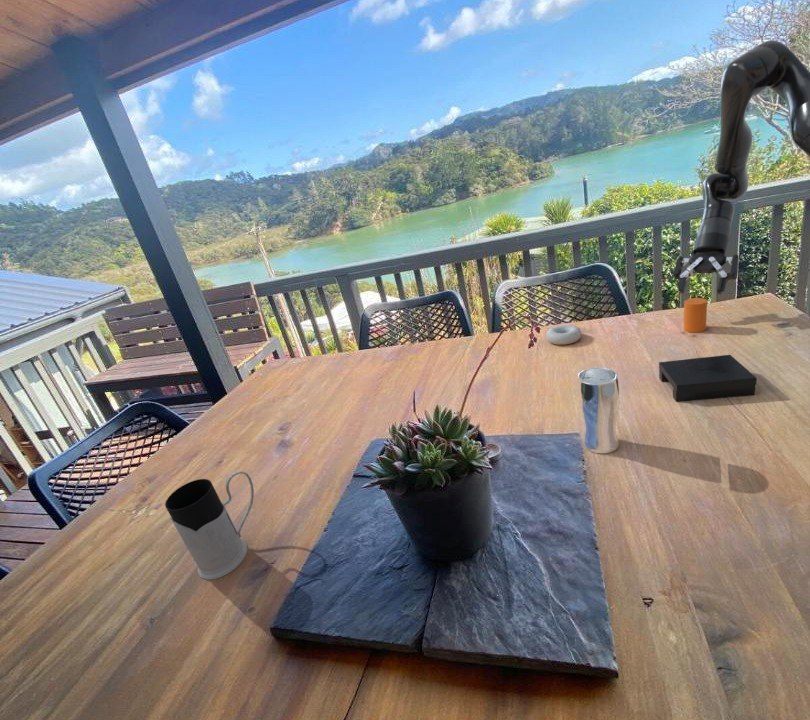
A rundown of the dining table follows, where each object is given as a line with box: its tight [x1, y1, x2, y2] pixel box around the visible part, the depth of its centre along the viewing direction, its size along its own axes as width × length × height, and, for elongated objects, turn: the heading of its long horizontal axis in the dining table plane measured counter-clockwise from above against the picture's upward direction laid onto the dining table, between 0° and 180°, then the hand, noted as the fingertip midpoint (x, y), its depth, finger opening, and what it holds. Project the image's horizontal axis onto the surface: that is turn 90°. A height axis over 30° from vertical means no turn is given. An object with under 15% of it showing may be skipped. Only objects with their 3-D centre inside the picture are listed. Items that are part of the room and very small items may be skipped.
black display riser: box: [658, 354, 758, 403], centre depth 92 cm, size 14×11×4 cm
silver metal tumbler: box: [577, 366, 621, 455], centre depth 81 cm, size 7×7×15 cm
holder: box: [164, 470, 255, 581], centre depth 77 cm, size 9×14×15 cm, turn 134°
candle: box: [683, 297, 708, 334], centre depth 116 cm, size 5×5×8 cm
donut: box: [545, 324, 582, 346], centre depth 129 cm, size 10×4×10 cm
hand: (699, 292), depth 116 cm, fingers open, 8 cm apart
